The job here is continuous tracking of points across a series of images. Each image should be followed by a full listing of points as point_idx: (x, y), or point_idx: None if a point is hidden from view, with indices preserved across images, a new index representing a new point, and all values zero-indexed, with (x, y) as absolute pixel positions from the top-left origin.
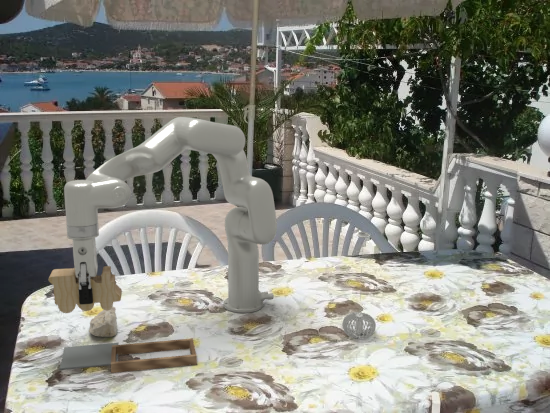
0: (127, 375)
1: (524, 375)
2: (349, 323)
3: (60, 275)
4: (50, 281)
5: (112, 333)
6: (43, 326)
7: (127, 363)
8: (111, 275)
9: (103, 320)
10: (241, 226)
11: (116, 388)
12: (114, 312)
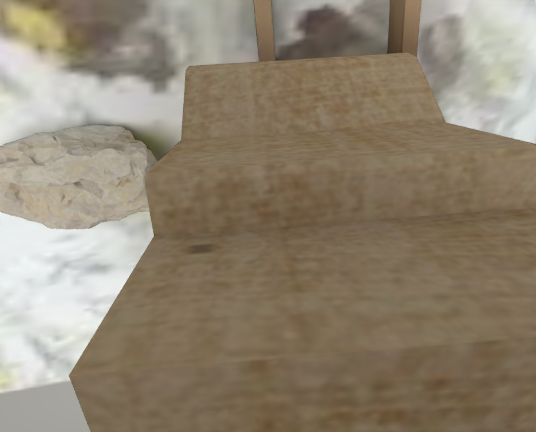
0: (427, 48)
1: None
2: None
3: None
4: None
5: (132, 137)
6: (73, 340)
7: (415, 46)
8: (211, 226)
9: (121, 181)
10: None
11: (498, 77)
12: (17, 146)
